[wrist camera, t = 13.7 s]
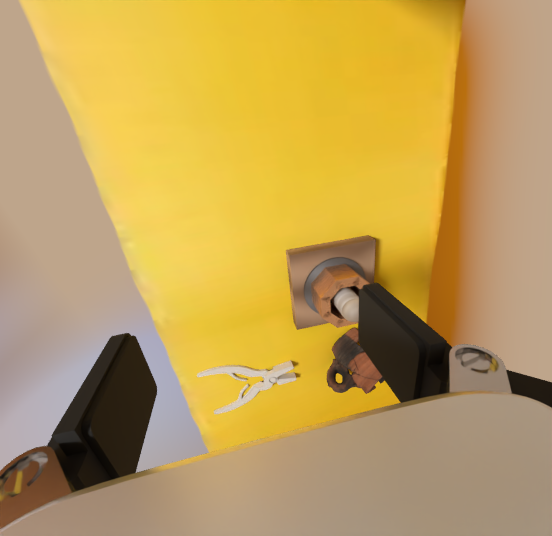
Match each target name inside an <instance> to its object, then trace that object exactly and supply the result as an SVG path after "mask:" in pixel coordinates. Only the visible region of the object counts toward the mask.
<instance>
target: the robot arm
mask: <svg viewBox="0 0 552 536" xmlns="http://www.w3.org/2000/svg"><path fill="white" fill-rule="evenodd" d="M358 340H359V344H360V346H361V347H362V349H363V350H364V352H365V353H366V354H367V356H368V357H369V359H370V360H371V361H372V363H373V364H374V366H375V367H376V368H377V370H378V371H379V373H380V374H381V375H382V377H383V378H384V380H385V381H386V382H387V384H388V385H389V387H390V388H391V389H392V391H393V392H394V394H395V395H396V397H397V398H398V399H399V401H400V402H401V403H399V404H394V405H390V406H386V407H382V408H378V409H374V410H370V411H367V412H363V413H359V414H355V415H351V416H347V417H343V418H339V419H335V420H332V421H328V422H324V423H320V424H316V425H312V426H308V427H305V428H301V429H297V430H293V431H289V432H286V433H282V434H278V435H274V436H270V437H267V438H263V439H259V440H255V441H251V442H248V443H244V444H240V445H236V446H233V447H229V448H225V449H221V450H218V451H214V452H210V453H207V454H203V455H199V456H196V457H192V458H188V459H184V460H181V461H177V462H174V463H169V464H166V465H162V466H158V467H155V468H152V469H148V470H144V471H141V472H137V473H135V472H136V469H137V465H138V461H139V457H140V454H141V450H142V446H143V443H144V439H145V435H146V431H147V428H148V424H149V420H150V417H151V413H152V409H153V406H154V402H155V398H156V395H157V386H156V383H155V381H154V378H153V376H152V374H151V371H150V369H149V366H148V364H147V362H146V359H145V357H144V355H143V353H142V350H141V348H140V345H139V343H138V341H137V339H136V337H135V336H131V335H130V334H129V333H125V334H120V335H116V336H112V337H111V338H110V339H109V341H108V343H107V344H106V346H105V347H104V349H103V351H102V353H101V354H100V356H99V357H98V359H97V361H96V362H95V364H94V366H93V368H92V369H91V371H90V373H89V374H88V376H87V377H86V379H85V381H84V382H83V384H82V386H81V388H80V389H79V391H78V392H77V394H76V396H75V397H74V399H73V401H72V402H71V404H70V406H69V407H68V409H67V411H66V413H65V414H64V416H63V417H62V419H61V421H60V422H59V424H58V426H57V427H56V429H55V431H54V432H53V434H52V438H51V440H50V442H49V443H48V445H47V446H41V447H36V448H33V449H31V450H28V451H26V452H25V453H23V454H21V455H19V456H18V457H16V458H15V459H13V460H12V461H11V462H10V463H8V464H7V465H6V466H5V467H4V468H3V469H2V470H1V471H0V536H552V382H548V381H545V380H541V379H537V378H534V377H530V376H527V375H523V374H519V373H516V372H512V371H509V370H506V368H505V365H504V363H503V361H502V360H501V359H500V358H499V357H498V356H497V355H495V354H494V353H492V352H491V351H489V350H487V349H484V348H482V347H479V346H475V345H468V344H462V345H457V346H454V347H451V346H450V345H449V344H448V343H447V341H446V340H445V339H444V338H443V337H441V336H440V335H439V334H438V333H437V332H435V331H434V330H433V329H432V328H431V327H429V326H428V325H427V324H426V323H425V322H424V321H422V320H421V319H420V318H419V317H418V316H416V315H415V314H414V313H413V312H412V311H411V310H409V309H408V308H407V307H406V306H405V305H403V304H402V303H401V302H400V301H399V300H397V299H396V298H395V297H394V296H393V295H392V294H390V293H389V292H388V291H387V290H386V289H384V288H383V287H382V286H381V285H380V284H378V283H371V284H366V285H363V287H362V289H360V290H359V321H358Z"/></svg>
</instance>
